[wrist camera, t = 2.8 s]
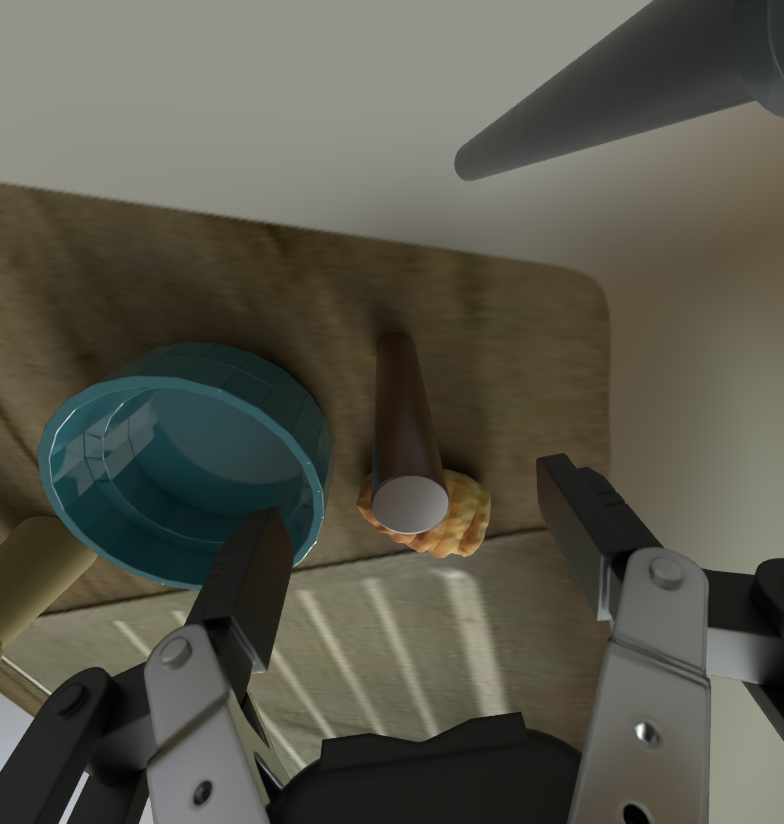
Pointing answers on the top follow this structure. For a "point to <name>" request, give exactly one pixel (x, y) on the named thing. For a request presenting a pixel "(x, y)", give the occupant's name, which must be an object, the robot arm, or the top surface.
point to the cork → (37, 571)
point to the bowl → (186, 459)
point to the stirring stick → (404, 444)
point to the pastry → (458, 526)
